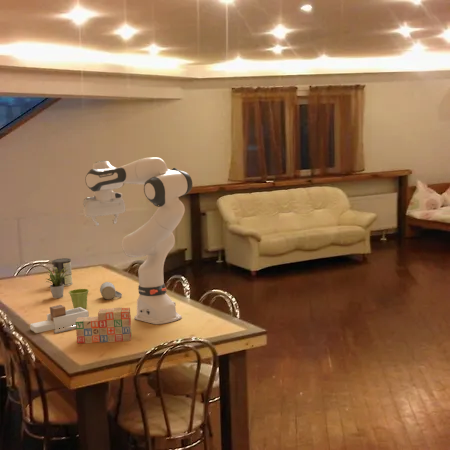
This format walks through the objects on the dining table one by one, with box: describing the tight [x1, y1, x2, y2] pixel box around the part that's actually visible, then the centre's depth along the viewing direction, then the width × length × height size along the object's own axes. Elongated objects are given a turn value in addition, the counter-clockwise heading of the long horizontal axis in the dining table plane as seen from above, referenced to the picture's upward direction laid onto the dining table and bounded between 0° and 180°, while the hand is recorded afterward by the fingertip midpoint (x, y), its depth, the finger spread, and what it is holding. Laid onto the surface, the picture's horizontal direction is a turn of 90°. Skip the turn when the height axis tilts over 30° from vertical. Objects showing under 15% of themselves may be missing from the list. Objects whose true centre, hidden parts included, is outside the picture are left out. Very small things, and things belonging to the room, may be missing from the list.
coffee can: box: [51, 257, 74, 287], centre depth 357 cm, size 10×10×14 cm
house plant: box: [45, 266, 70, 299], centre depth 329 cm, size 14×14×16 cm
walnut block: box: [49, 304, 66, 322], centre depth 278 cm, size 5×5×6 cm
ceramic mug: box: [99, 281, 123, 301], centre depth 323 cm, size 11×8×8 cm
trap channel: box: [29, 307, 90, 334], centre depth 278 cm, size 9×24×5 cm, turn 126°
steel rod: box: [53, 325, 76, 335], centre depth 272 cm, size 14×2×2 cm, turn 126°
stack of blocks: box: [75, 307, 133, 344], centre depth 255 cm, size 21×6×12 cm, turn 93°
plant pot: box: [68, 288, 90, 309], centre depth 305 cm, size 9×9×9 cm
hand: (105, 224), depth 300 cm, fingers open, 8 cm apart
